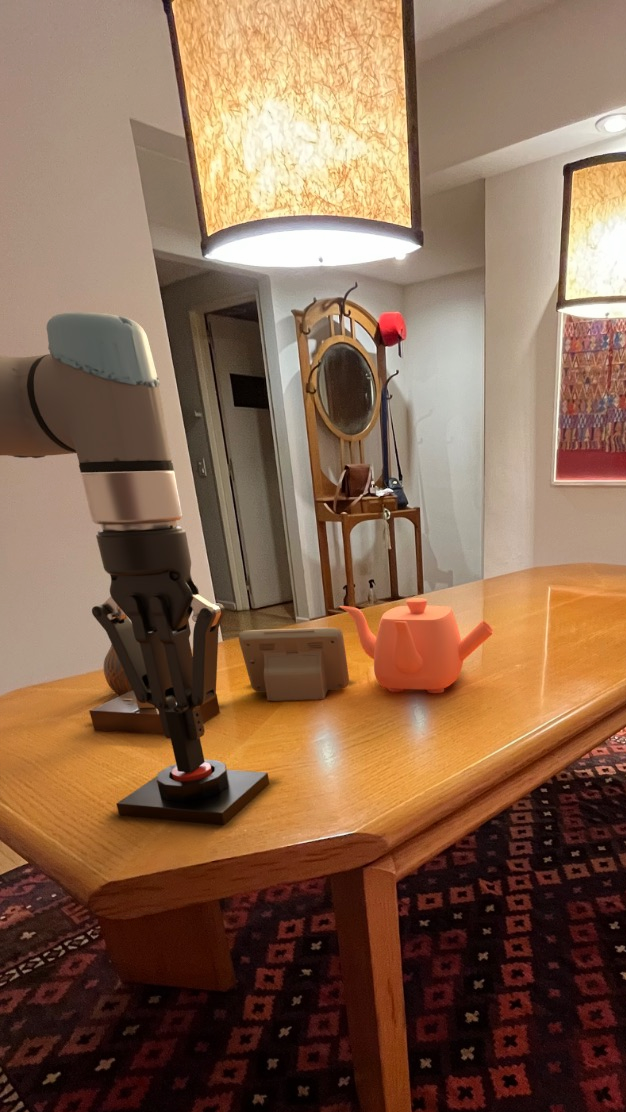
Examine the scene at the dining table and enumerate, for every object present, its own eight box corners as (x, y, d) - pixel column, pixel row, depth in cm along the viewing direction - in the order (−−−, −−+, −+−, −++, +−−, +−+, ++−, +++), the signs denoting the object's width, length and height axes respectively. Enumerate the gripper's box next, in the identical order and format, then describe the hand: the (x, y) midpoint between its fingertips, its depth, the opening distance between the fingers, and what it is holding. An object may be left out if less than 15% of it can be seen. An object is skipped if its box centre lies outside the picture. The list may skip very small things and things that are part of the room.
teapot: (402, 709, 100) (397, 615, 94) (345, 682, 114) (337, 598, 108) (497, 686, 110) (498, 599, 104) (434, 664, 123) (431, 585, 117)
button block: (120, 822, 70) (111, 787, 68) (176, 782, 79) (169, 750, 77) (225, 832, 67) (218, 796, 66) (270, 790, 76) (265, 757, 74)
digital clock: (354, 686, 112) (349, 621, 107) (338, 703, 104) (331, 634, 99) (262, 684, 114) (252, 621, 109) (239, 701, 106) (228, 633, 101)
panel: (93, 730, 95) (88, 709, 94) (138, 708, 104) (134, 688, 103) (182, 736, 92) (177, 714, 91) (220, 712, 101) (216, 692, 100)
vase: (131, 685, 115) (119, 634, 111) (164, 688, 113) (152, 636, 109) (100, 697, 110) (86, 643, 106) (134, 700, 107) (121, 646, 103)
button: (166, 790, 70) (163, 775, 70) (188, 774, 74) (184, 760, 73) (201, 793, 70) (197, 777, 69) (220, 777, 73) (218, 762, 72)
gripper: (226, 521, 62) (264, 756, 73) (104, 523, 65) (158, 750, 76) (181, 528, 56) (229, 785, 66) (47, 530, 59) (114, 777, 69)
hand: (191, 766), depth 71 cm, fingers closed
